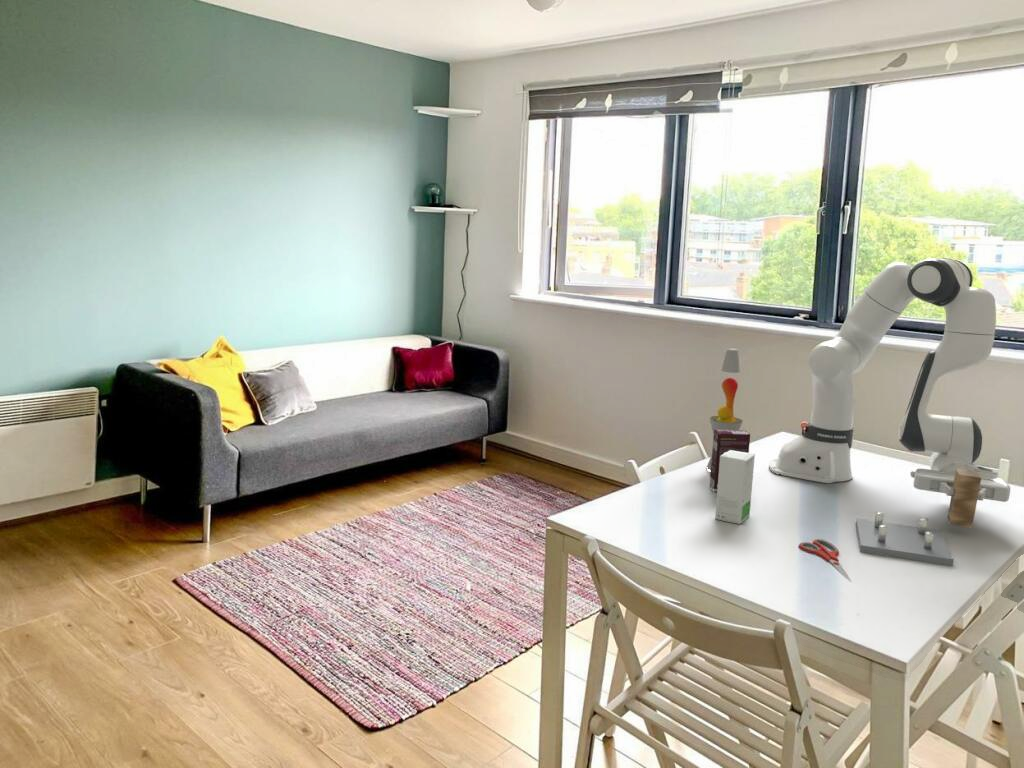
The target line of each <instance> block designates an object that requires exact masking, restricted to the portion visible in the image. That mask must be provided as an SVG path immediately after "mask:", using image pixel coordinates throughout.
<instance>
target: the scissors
mask: <svg viewBox="0 0 1024 768" xmlns="http://www.w3.org/2000/svg"><path fill="white" fill-rule="evenodd" d="M804 546H805V547H804ZM807 546H808V547H807ZM811 547H812V548H811ZM798 548H800V550H801V551H803V552H805V551H806V553H808V554H812V555H815V554H816V556H818V557H820V558H821V559H823V560H824V561H826V562H827V563H829V564H831V565H832V566H833V568H834V569H835V570H837V572H838V573H840V574H841V576H843V578H845V579H847V580H848V582H850V583H852V580H851V578H850V576H849V574H848V573H847V572H846V570H845V569H844V568H843V566H842V564H841V563H840V562H839V558H838V557H837V556H838V555H839V554H840V551H839V549H838V547H836V546H835V545H834V544H832V543H831V542H830V541H828V540H825V539H821V538H817V539H814V540H813V541H812V542H808V541H803V542H800V543H799V544H798ZM827 548H828V549H827ZM815 549H816V550H815ZM829 549H831V550H832V551H831V550H829Z"/></svg>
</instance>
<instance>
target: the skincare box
mask: <svg viewBox="0 0 1024 768" xmlns="http://www.w3.org/2000/svg"><path fill="white" fill-rule="evenodd" d="M755 457H756V453H751V452H749V453H746V452H739V451H733V450H729V451H728V452H725V453H724V454H723V455H721V456H720V463H719V476H718V489H717V492H716V501H715V502H716V503H715V512H714V513H715V514H714V519H716V520H718V521H722V522H726V523H731V524H736V525H737V524H738V525H741V524H742V523H743V522H745V521H746V519H747V518H749V516H750V514H751V502H752V490H753V480H754V478H753V477H754V468H755Z"/></svg>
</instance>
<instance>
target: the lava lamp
mask: <svg viewBox="0 0 1024 768" xmlns="http://www.w3.org/2000/svg"><path fill="white" fill-rule="evenodd" d="M721 372H724V373H731V374H732V373H735V374H736V373H740V356H739V349H737V348H727V349H726V352H725V356H724V359H723V364H722V367H721ZM738 383H739V382H738V381H737V380H736V379H735V378H733V377H727V378H725V379H724V380H722V383H721V388H722V391H723V393H724V396H725V405H723V406H721V407H719V408H718V409H717V415H714V416H710V417H709V423H710V426H711V430H712V435H714V429H716V430H741V426H742V424H743V420H742V419H741V418H738V417H735V414H734V404H735V397H736V394H737V390H738V388H739V385H738ZM711 462H712V454H711V455H710V457H709V460H708V461H707V465H706V467H708V469H710V470H711Z"/></svg>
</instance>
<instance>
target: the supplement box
mask: <svg viewBox="0 0 1024 768" xmlns="http://www.w3.org/2000/svg"><path fill="white" fill-rule="evenodd" d="M750 442H751V434H750V433H749V432H748V431H747V430H745V429H739V430H716V429H714V434H713V439H712V451H711V455H712V462H711V473H710V476H709V487H710V489H711V488H712V489H713V490H714V491H717V489H718V476H719V463H720V456H721V455H723V454H724V453H725V452H728V451H729V450H733V451H739V452H746V453H750ZM712 489H711V490H712ZM713 490H712V491H713ZM714 491H713V492H714Z"/></svg>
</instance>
